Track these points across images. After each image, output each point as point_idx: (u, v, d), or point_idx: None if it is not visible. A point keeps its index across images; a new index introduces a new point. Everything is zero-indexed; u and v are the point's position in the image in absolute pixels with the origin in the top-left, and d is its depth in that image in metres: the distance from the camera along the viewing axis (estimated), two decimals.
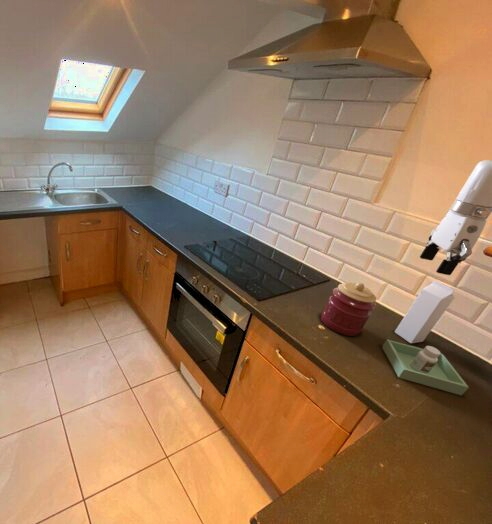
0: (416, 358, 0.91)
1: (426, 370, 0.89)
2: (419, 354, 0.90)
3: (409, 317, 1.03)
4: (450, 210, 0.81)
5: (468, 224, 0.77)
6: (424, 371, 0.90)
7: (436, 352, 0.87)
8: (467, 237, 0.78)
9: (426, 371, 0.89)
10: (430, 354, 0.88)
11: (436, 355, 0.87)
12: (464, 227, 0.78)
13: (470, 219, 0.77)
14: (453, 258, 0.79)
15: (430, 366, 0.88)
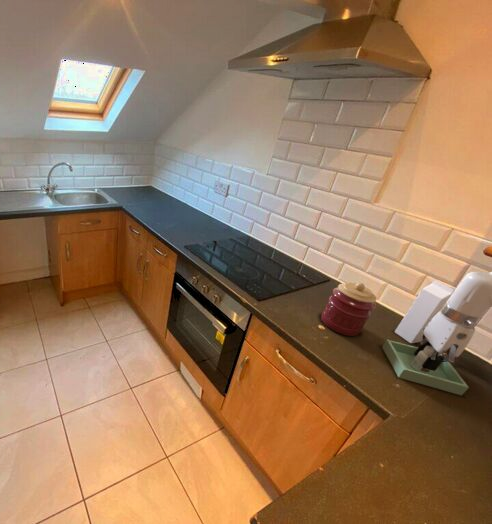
0: (416, 358, 0.91)
1: (426, 370, 0.89)
2: (419, 354, 0.90)
3: (409, 317, 1.03)
4: (441, 313, 0.84)
5: (458, 331, 0.80)
6: (424, 371, 0.90)
7: None
8: (457, 343, 0.81)
9: (426, 371, 0.89)
10: (430, 354, 0.88)
11: None
12: (454, 333, 0.80)
13: (460, 327, 0.80)
14: (437, 358, 0.85)
15: None
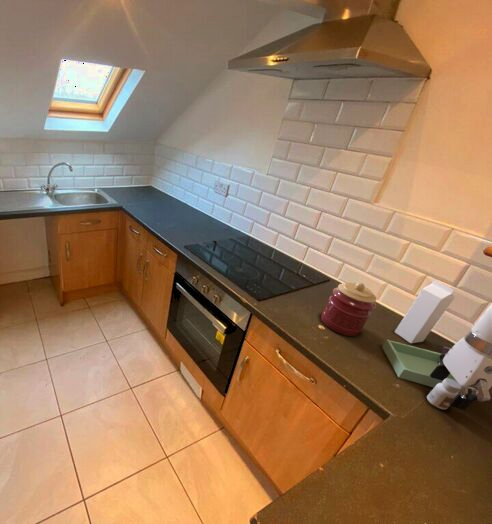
0: (433, 391, 0.80)
1: (445, 406, 0.79)
2: (437, 387, 0.80)
3: (409, 317, 1.03)
4: (465, 341, 0.73)
5: (486, 364, 0.69)
6: (443, 407, 0.79)
7: (457, 386, 0.77)
8: (484, 377, 0.70)
9: (445, 407, 0.79)
10: (450, 388, 0.77)
11: (457, 390, 0.76)
12: (481, 366, 0.70)
13: (488, 359, 0.69)
14: (469, 397, 0.72)
15: None
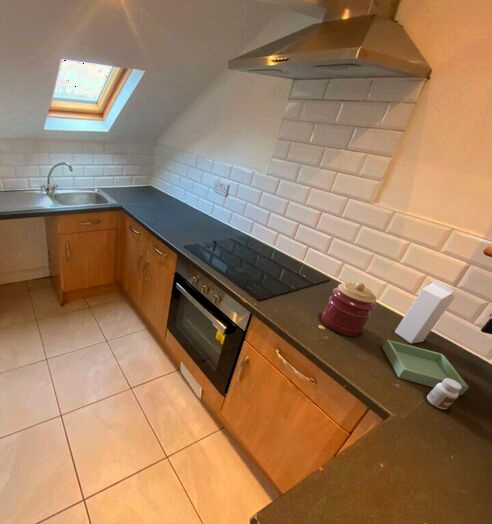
0: (433, 391, 0.80)
1: (445, 406, 0.79)
2: (437, 387, 0.80)
3: (409, 317, 1.03)
4: None
5: None
6: (443, 407, 0.79)
7: (457, 386, 0.77)
8: None
9: (445, 407, 0.79)
10: (450, 388, 0.77)
11: (457, 390, 0.76)
12: None
13: None
14: None
15: (450, 402, 0.78)
